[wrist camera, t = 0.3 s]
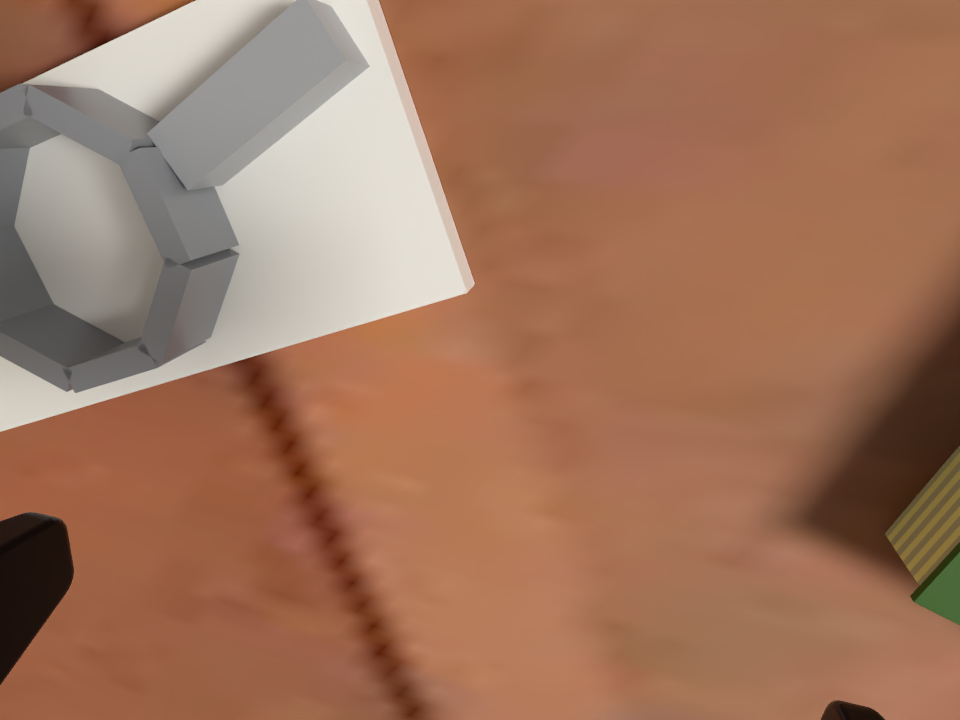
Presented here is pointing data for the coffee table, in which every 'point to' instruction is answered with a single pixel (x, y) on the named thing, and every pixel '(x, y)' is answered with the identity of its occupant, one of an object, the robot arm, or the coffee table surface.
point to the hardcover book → (933, 541)
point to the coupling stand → (211, 200)
